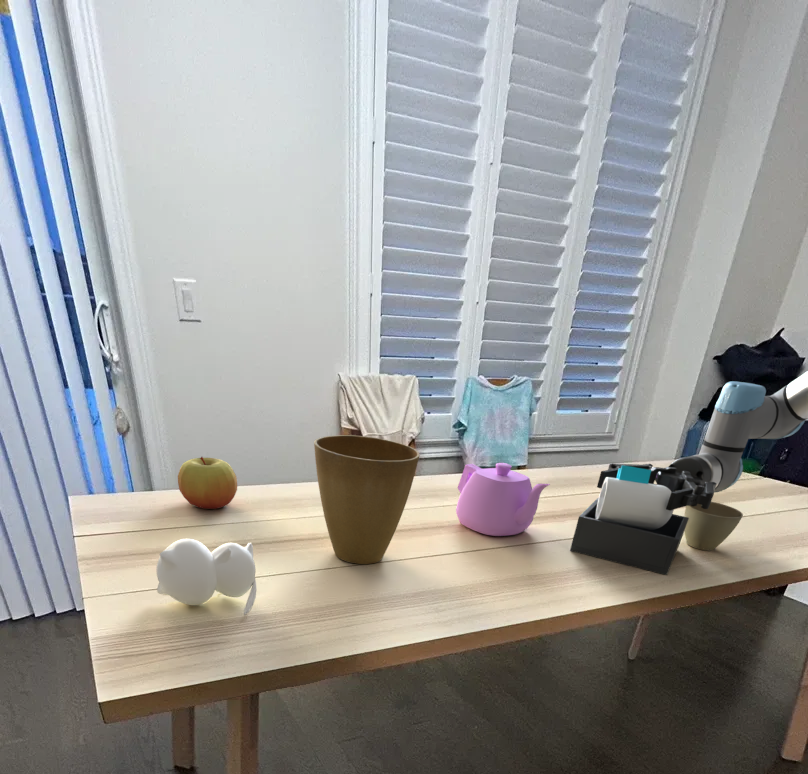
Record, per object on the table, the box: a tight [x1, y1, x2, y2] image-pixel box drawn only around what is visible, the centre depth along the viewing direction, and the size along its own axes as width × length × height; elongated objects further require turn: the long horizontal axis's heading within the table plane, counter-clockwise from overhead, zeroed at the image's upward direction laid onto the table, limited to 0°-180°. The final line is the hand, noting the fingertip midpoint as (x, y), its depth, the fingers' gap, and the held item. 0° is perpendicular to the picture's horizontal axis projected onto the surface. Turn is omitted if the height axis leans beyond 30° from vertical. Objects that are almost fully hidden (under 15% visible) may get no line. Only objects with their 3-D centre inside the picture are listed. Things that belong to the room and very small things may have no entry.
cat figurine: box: [156, 538, 258, 617], centre depth 77 cm, size 9×11×12 cm
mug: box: [595, 465, 675, 530], centre depth 109 cm, size 12×9×12 cm
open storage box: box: [569, 496, 689, 576], centre depth 112 cm, size 17×16×6 cm
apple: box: [177, 456, 238, 510], centre depth 108 cm, size 10×10×8 cm
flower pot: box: [683, 501, 744, 551], centre depth 119 cm, size 10×10×7 cm
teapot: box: [455, 462, 551, 537], centre depth 113 cm, size 13×20×11 cm
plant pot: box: [313, 434, 421, 565], centre depth 94 cm, size 15×15×16 cm
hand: (634, 490), depth 105 cm, fingers closed on mug, 12 cm apart
